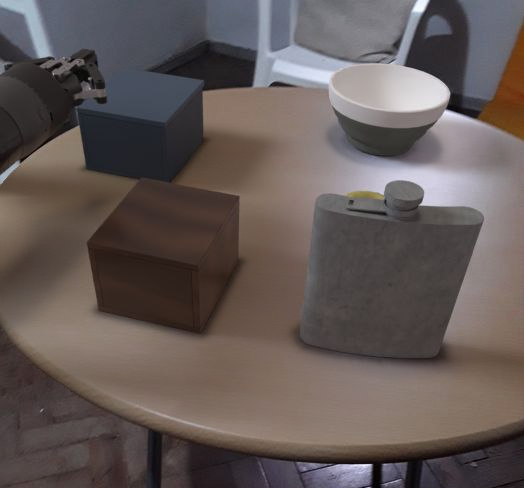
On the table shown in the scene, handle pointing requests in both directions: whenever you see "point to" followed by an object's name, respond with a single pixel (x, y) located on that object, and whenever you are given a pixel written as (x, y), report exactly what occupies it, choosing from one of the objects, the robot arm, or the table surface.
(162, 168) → the chest
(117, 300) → the cabinet
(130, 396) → the table surface
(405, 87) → the bowl
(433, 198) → the table surface
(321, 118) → the table surface
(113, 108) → the lid
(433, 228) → the hip flask
